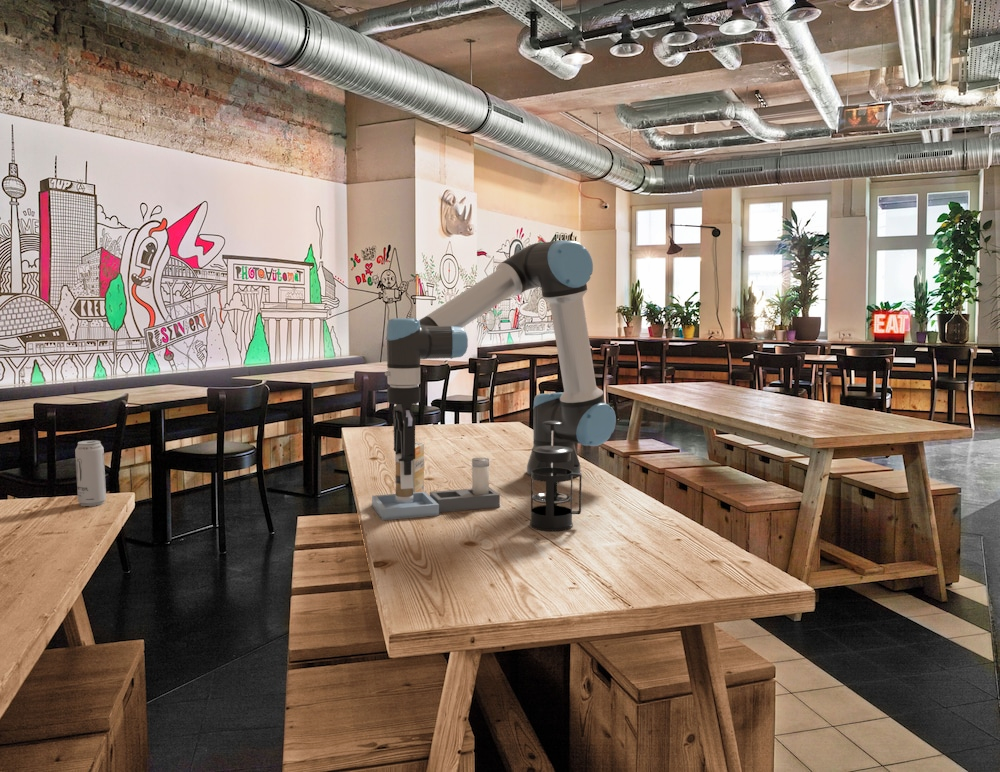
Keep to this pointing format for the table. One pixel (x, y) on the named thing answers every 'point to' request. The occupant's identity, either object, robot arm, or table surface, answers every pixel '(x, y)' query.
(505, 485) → the table surface
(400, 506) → the parts tray
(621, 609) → the table surface
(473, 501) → the fuse block
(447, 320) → the robot arm
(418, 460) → the supplement box
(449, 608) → the table surface
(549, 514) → the french press
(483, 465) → the cylinder
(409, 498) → the fuse
